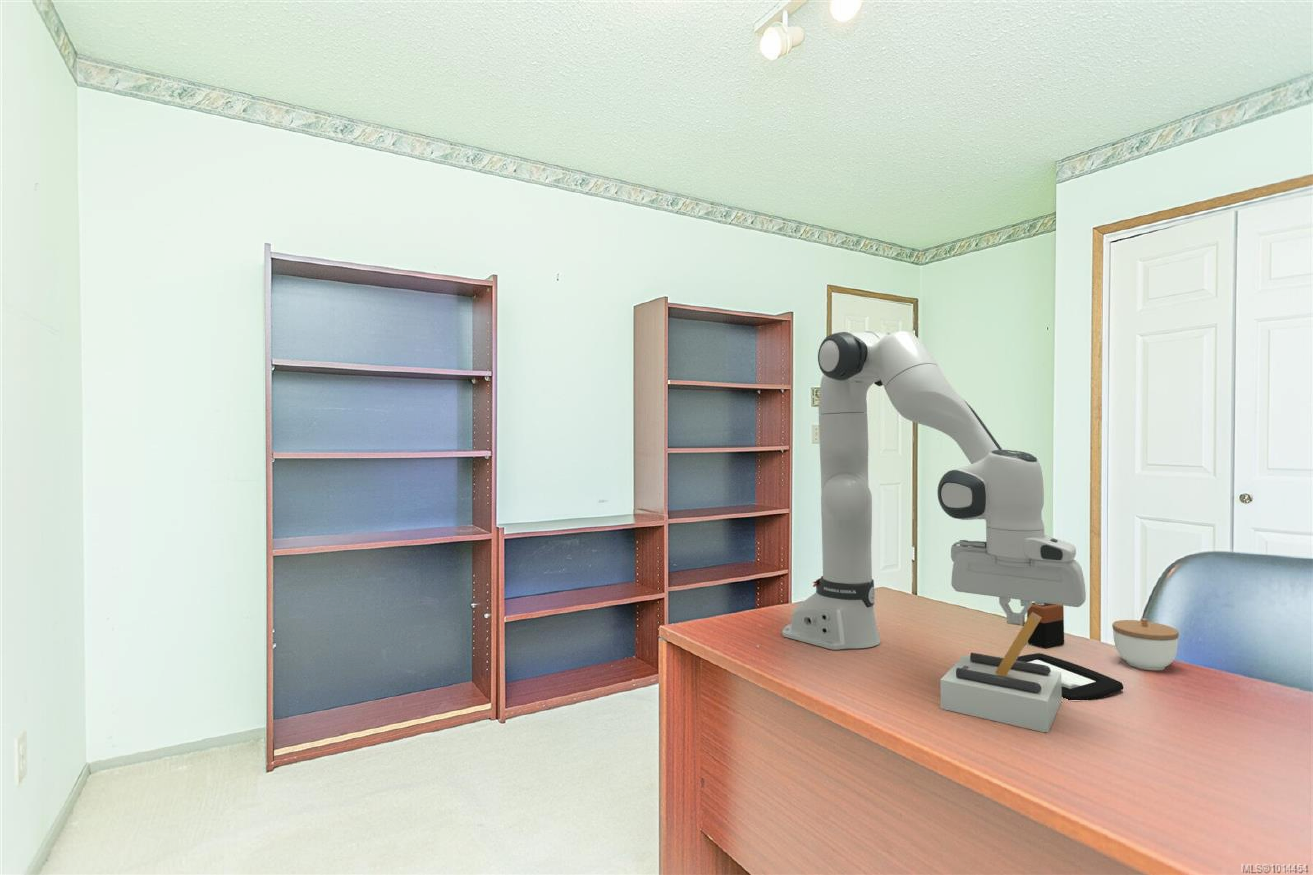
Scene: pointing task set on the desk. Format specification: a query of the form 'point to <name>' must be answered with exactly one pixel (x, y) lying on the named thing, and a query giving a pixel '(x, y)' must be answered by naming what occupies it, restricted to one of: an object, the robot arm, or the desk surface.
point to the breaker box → (1003, 691)
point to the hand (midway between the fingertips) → (1015, 624)
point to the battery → (1047, 625)
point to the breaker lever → (1018, 644)
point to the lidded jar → (1145, 643)
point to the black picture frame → (1077, 678)
